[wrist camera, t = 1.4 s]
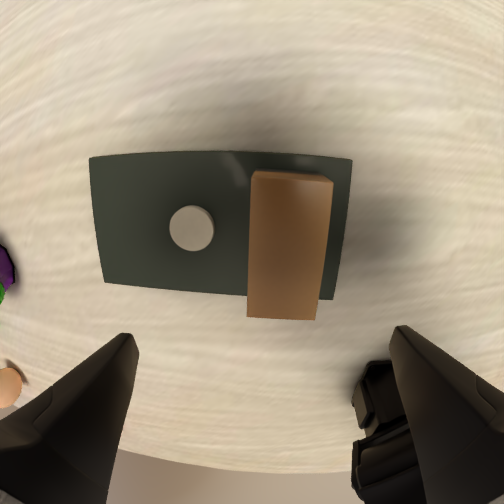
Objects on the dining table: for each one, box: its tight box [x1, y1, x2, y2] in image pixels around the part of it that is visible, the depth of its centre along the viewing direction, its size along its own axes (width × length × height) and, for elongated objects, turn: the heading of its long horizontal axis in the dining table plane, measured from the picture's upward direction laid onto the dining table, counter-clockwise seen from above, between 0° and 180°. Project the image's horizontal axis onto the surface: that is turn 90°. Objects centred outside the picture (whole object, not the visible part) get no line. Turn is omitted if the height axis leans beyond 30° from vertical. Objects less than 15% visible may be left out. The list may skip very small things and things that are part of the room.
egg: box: [0, 368, 22, 408], centre depth 27 cm, size 5×5×8 cm
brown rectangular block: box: [247, 168, 334, 320], centre depth 17 cm, size 4×8×4 cm, turn 178°
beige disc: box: [170, 205, 215, 251], centre depth 19 cm, size 3×3×1 cm
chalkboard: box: [89, 151, 352, 300], centre depth 19 cm, size 18×10×1 cm, turn 88°
